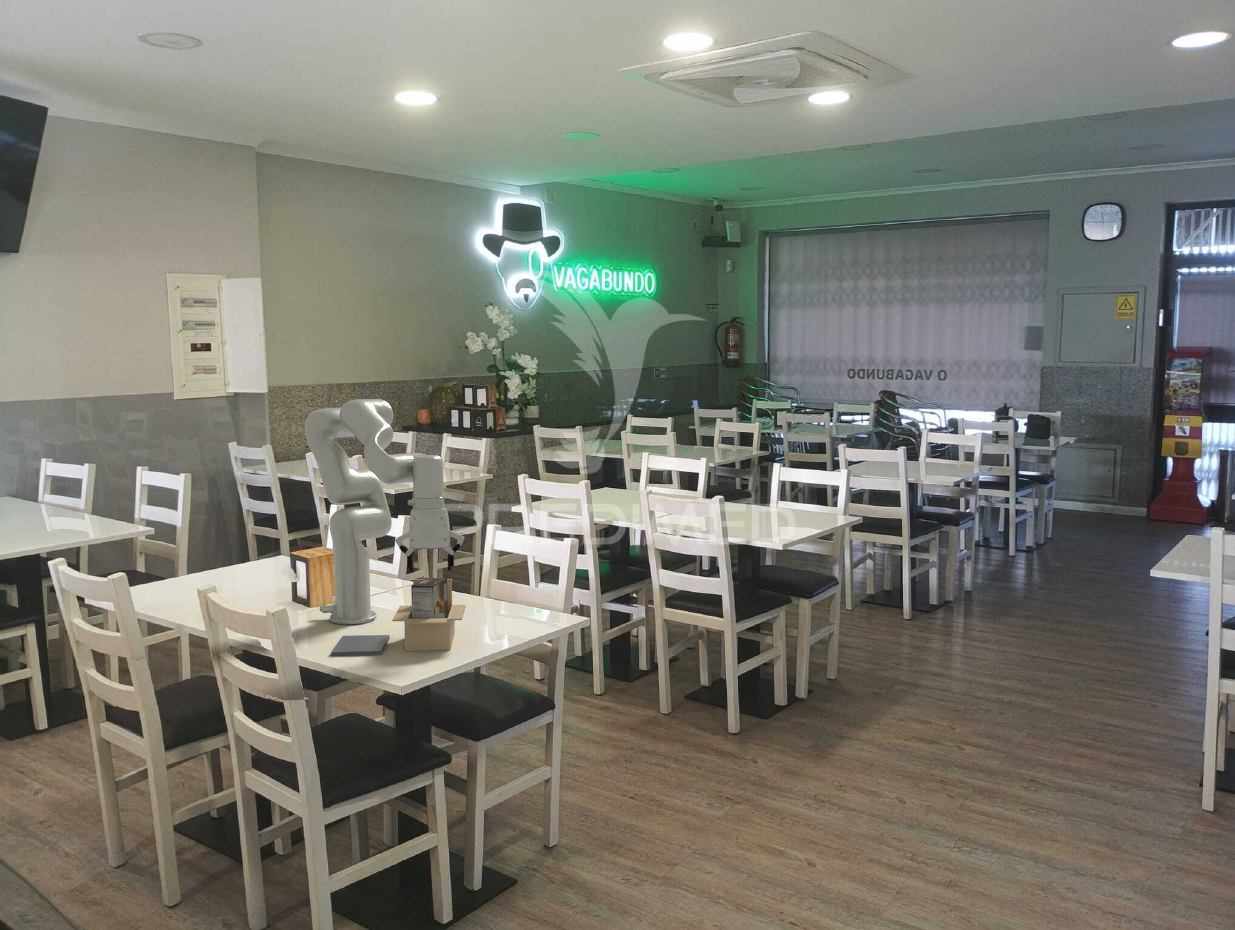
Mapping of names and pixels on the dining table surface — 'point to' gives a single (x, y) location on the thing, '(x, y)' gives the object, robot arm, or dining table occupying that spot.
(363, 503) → the robot arm
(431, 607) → the coffee box
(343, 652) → the tray
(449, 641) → the carton
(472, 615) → the dining table surface
